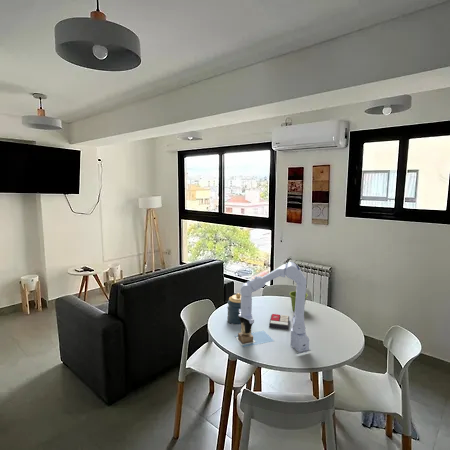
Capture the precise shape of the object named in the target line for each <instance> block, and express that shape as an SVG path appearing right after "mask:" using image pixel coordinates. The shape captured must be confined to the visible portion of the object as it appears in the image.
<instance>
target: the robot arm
mask: <svg viewBox="0 0 450 450" xmlns="http://www.w3.org/2000/svg"><path fill="white" fill-rule="evenodd" d="M279 277H281V278H286V277H287V278H288V279H290V280H292V281H294V282H295V283H296V288H295V291H296V301H295V311H293V312H294V313H293V317H292V318H291V322H292V327H291V329H290V343H289V344H290V347H291V348H293V349H295V350H296V351H297V353H296V354H302V353H306V352H310V351H311V349H310V338H309V336H307V333H306V332H307V331H306V328H307V327H306V325H305V307H306V301H305V294H307V277H306V276H305V274H304V273H303V271H302V269H301V268H300V265H298V264H296V262H293V261H288V262H287V263H284V264H282V265H280V266H278V267H277V268H275V269H273V270H271V271H270V272H269V273H267V274H266V275H263V276H260V275H258V276H257V275H256V276H255V277H254V278H253V279H251V280H248V281H246V282H244V283H242V285H241V287H240V295H241V309H239V313H240V314H239V316H238V317H239V319H240V322H241V323H244V326H245V332H246V333H250V329H251V330H252V326H253V324H254V323H255V319H254V318H253V314H252V313H253V312H252V310H253V309H252V307H253V298H252V293H254V292H256V291H259V290H260V289H262V288H263V287H265V286H266V284H267V283H268V282H271V281H272V280H275V279H276V278H279Z"/></svg>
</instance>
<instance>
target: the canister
mask: <svg viewBox="0 0 450 450" xmlns="http://www.w3.org/2000/svg"><path fill="white" fill-rule="evenodd" d="M226 308H227V322H228V323H229V324H230V325H232V324H233V325H241V322H240V319H239V317H238V316H239V314H240V313H239V309H241V292H240V293H239V292H237V293H236V294H233V295H232V296H229V298H228V300H227V307H226Z"/></svg>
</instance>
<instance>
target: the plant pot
mask: <svg viewBox="0 0 450 450" xmlns="http://www.w3.org/2000/svg"><path fill="white" fill-rule="evenodd" d="M289 296H290V300H291V310H292V311H293V312H295V301H296V290H294V291H293V290H292V291H290V292H289ZM307 297H308V293H306V294H305V302H306V300H307V299H308V298H307Z"/></svg>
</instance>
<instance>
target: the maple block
mask: <svg viewBox="0 0 450 450" xmlns="http://www.w3.org/2000/svg"><path fill="white" fill-rule="evenodd" d="M241 332H242V333H243V334H244V335H249V334H251V333H252V328H251V329H250V333H246V332H245V326H244V323H241V324H240V333H241Z"/></svg>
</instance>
